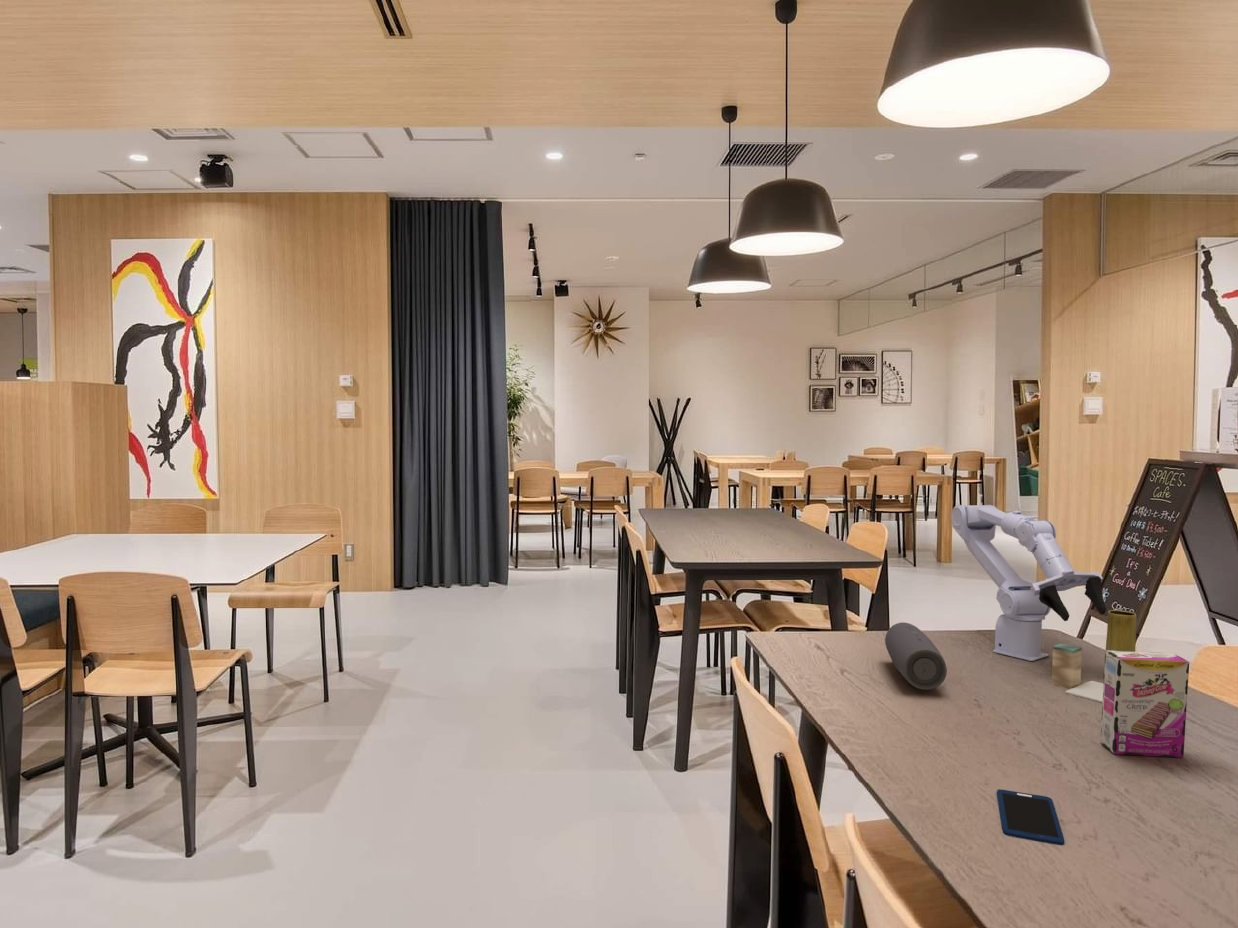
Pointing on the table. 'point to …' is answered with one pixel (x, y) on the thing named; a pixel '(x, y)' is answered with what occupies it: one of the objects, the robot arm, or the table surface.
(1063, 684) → the block
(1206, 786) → the table surface
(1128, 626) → the vase
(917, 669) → the bluetooth speaker
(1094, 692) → the mat
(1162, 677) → the candy bar box
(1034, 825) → the cell phone
